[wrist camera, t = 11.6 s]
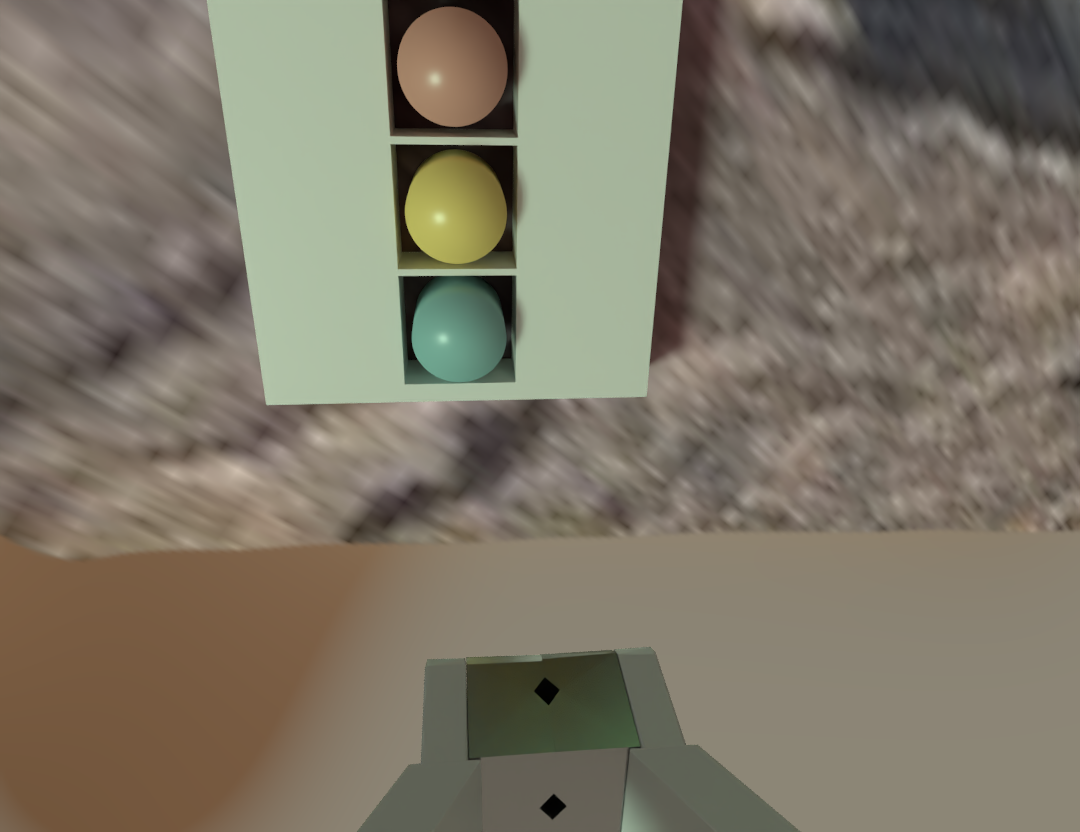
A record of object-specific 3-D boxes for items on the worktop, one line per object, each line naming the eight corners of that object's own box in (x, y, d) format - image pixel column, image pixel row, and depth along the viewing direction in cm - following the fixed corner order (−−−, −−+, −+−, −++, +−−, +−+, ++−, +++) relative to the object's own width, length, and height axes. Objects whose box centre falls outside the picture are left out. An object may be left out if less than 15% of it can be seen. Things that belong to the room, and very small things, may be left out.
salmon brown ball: (502, 10, 32) (507, 8, 29) (502, 118, 34) (507, 127, 31) (399, 7, 32) (393, 5, 29) (405, 117, 34) (400, 126, 31)
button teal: (502, 270, 37) (506, 293, 34) (502, 353, 39) (506, 381, 36) (413, 271, 37) (409, 293, 34) (417, 354, 39) (414, 383, 35)
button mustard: (502, 149, 35) (507, 161, 32) (502, 243, 36) (506, 263, 33) (406, 148, 34) (402, 160, 31) (411, 243, 36) (407, 264, 33)
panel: (666, -23, 33) (685, -28, 30) (633, 372, 41) (646, 396, 38) (222, -37, 31) (200, -44, 28) (279, 379, 39) (266, 405, 36)
